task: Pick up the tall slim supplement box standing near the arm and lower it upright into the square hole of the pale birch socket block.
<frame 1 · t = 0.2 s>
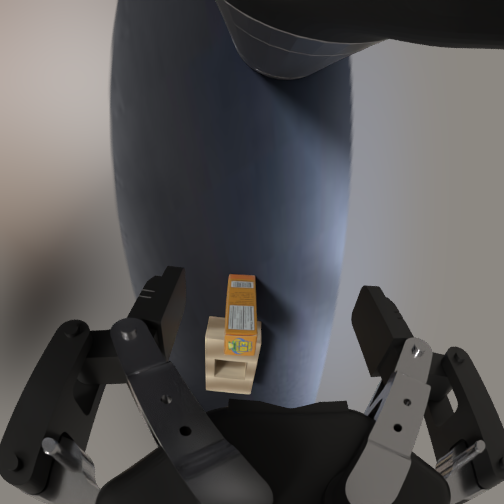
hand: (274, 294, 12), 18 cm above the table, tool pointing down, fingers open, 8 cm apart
socket block: (232, 349, 40), on the table
supplement box: (242, 283, 34), on the table
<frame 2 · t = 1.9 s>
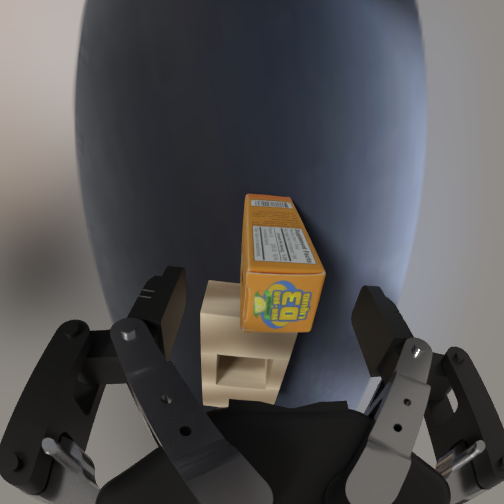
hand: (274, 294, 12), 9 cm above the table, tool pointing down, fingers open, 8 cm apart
socket block: (244, 340, 25), on the table
supplement box: (268, 214, 20), on the table
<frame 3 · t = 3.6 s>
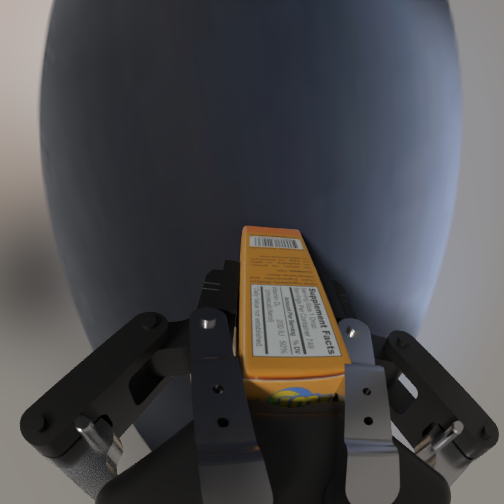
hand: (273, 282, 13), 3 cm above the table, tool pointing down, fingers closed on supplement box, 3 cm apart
supplement box: (271, 249, 16), on the table, touching gripper
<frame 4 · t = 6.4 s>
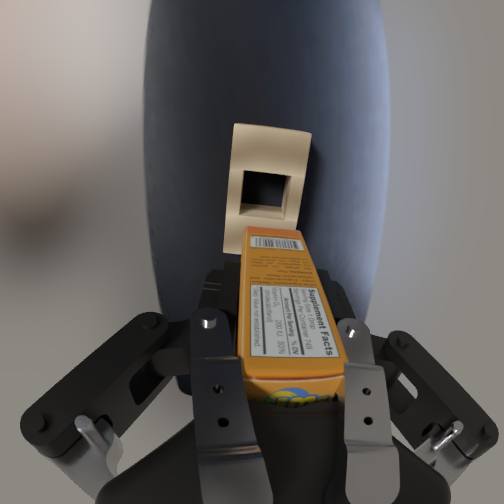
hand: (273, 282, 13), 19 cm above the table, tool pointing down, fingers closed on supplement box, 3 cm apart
socket block: (263, 185, 30), on the table
supplement box: (272, 250, 16), point 15 cm above the table, touching gripper
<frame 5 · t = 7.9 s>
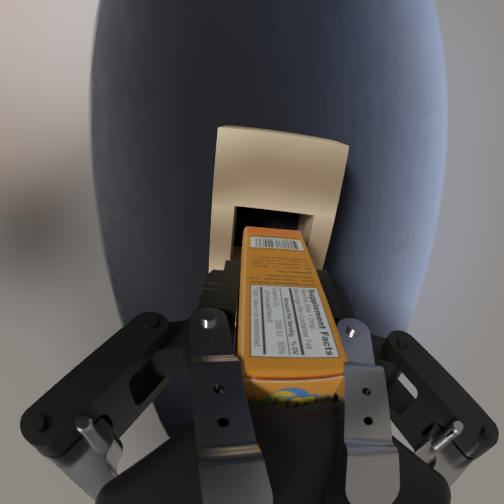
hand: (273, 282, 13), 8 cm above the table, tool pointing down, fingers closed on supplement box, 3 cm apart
socket block: (267, 221, 20), on the table
supplement box: (272, 250, 16), point 4 cm above the table, touching gripper
when the fingers open (5 cm above the table, at t = 9.2 s): supplement box drops 1 cm, resting in socket block.
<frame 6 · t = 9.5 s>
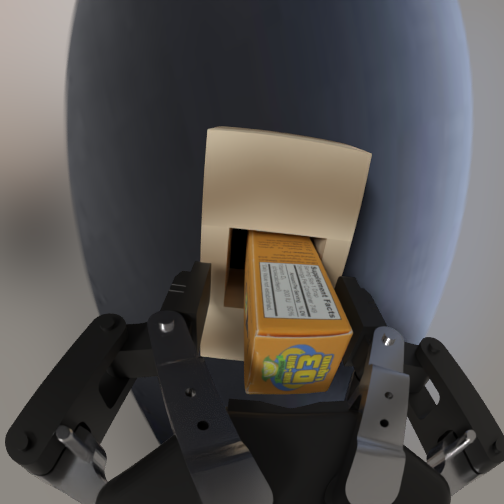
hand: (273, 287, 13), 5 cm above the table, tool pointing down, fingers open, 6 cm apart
socket block: (269, 240, 17), on the table
supplement box: (274, 238, 17), resting in socket block
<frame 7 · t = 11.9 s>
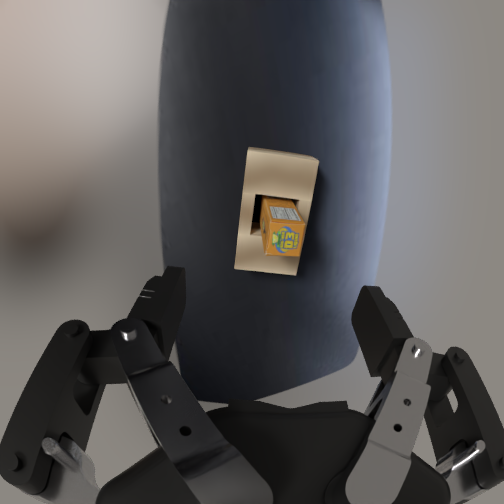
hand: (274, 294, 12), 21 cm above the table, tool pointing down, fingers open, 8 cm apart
socket block: (272, 206, 32), on the table
supplement box: (275, 205, 32), resting in socket block
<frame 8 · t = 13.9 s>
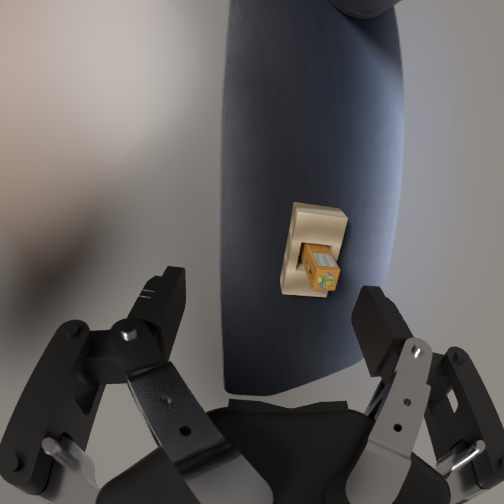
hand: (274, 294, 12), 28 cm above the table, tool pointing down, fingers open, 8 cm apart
socket block: (309, 245, 42), on the table
supplement box: (311, 244, 42), resting in socket block
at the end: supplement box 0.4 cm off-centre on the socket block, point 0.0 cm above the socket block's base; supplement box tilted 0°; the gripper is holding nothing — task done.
